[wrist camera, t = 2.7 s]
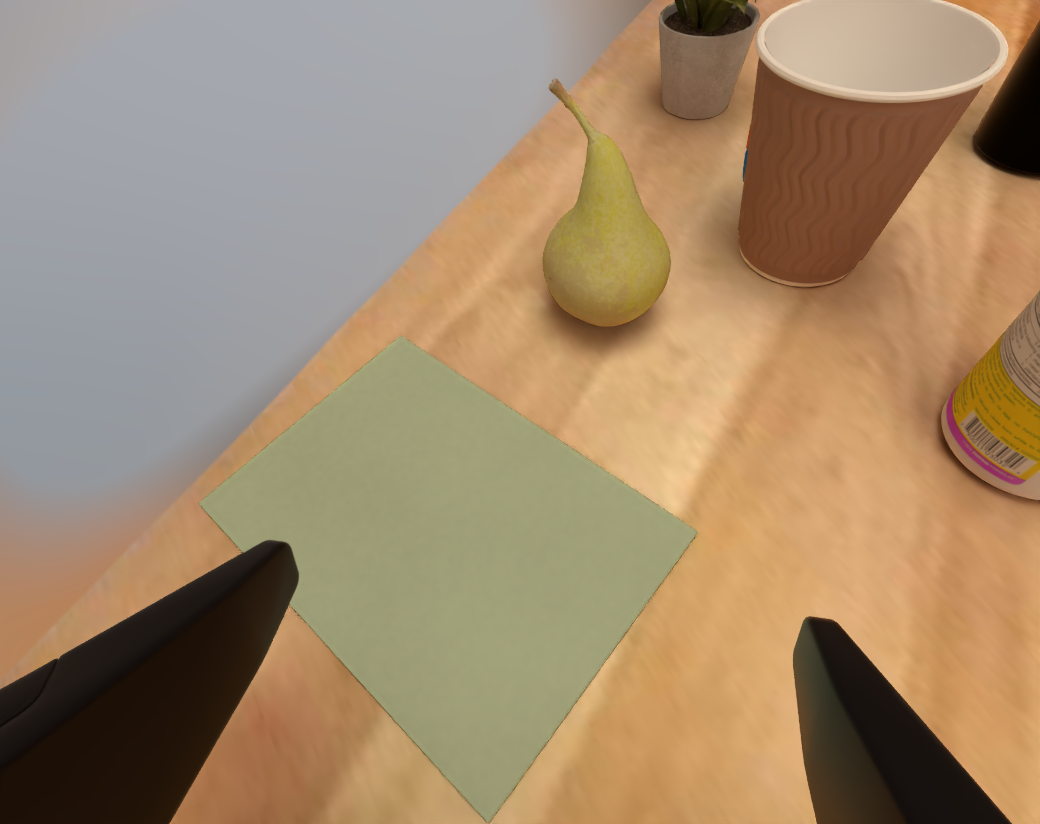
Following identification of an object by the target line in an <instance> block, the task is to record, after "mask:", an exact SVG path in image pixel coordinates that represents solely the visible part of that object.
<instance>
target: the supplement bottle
mask: <svg viewBox="0 0 1040 824" xmlns="http://www.w3.org/2000/svg"><path fill="white" fill-rule="evenodd" d="M941 423H942V429H943V433H944V436H945V439H946V441H947V443H948V445H949V447H950V449H951V450H952V452H953V453H954V455H955V456H956V457H957V458H958V459H959V460H960V462H961V463H962V464H963V465H964V466H965V467H967V468H968V469H969V470H970V471H971V472H972V473H974V474H975V475H976V476H978V477H979V478H981V479H982V480H984V481H985V482H987V483H989V484H991V485H993V486H994V487H997V488H999V489H1001V490H1003V491H1006V492H1008V493H1011V494H1014V495H1017V496H1021V497H1025V498H1029V499H1034V500H1040V291H1039V292H1038V294H1037V295H1036V296H1035V297H1034V298H1033V299H1032V301H1031V302H1030V303H1029V304H1028V305H1027V306H1026V308H1025V309H1024V310H1023V311H1022V312H1021V313H1020V314H1019V316H1018V317H1017V318H1016V319H1015V320H1014V321H1013V323H1012V324H1011V325H1010V326H1009V327H1008V328H1007V330H1006V331H1005V332H1004V333H1003V334H1002V335H1001V337H1000V338H999V339H998V340H997V341H996V342H995V344H994V345H993V346H992V347H991V348H990V349H989V351H988V352H987V353H986V354H985V355H984V356H983V357H982V359H981V360H980V361H979V362H978V363H977V364H976V365H975V367H974V368H973V369H972V370H971V371H970V373H969V374H968V375H967V376H966V377H965V378H964V379H963V381H962V382H961V383H960V384H959V385H958V386H957V388H956V389H955V390H954V391H953V393H952V394H951V395H950V396H949V398H948V399H947V401H946V402H945V405H944V407H943V410H942V415H941Z"/></svg>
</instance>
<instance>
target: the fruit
mask: <svg viewBox="0 0 1040 824" xmlns="http://www.w3.org/2000/svg"><path fill="white" fill-rule="evenodd" d="M549 89H550V91H551V92H552V93H553V94H555V95H556V96H557V97H558V98H559V99H560V100H561V101H562V102H563V103H564V105H565V107H566V108H568V109H570V111H571V112H572V113H573V114H574V116H575V117H576V118H577V120H578V121H579V123H580V125H581V126H582V128H583V130H584V132H585V134H586V136H587V138H588V147H587V157H586V164H585V169H584V175H583V179H582V184H581V188H580V192H579V196H578V200H577V202H576V204H575V206H574V208H572V209H571V210H570V211H568V212H567V213H566V214H565V215H564V216H563V217H562V218H561V219H560V220H559V221H558V223H557V224H556V226H555V227H554V229H553V230H552V232H551V234H550V236H549V238H548V240H547V242H546V246H545V249H544V253H543V271H544V276H545V279H546V282H547V285H548V288H549V290H550V292H551V294H552V296H553V298H554V299H555V301H556V302H557V303H558V305H559V306H560V307H561V308H563V309H564V310H565V311H566V312H568V313H569V314H571V315H572V316H574V317H576V318H578V319H580V320H582V321H585V322H587V323H590V324H593V325H596V326H602V327H609V326H617V325H622V324H625V323H628V322H630V321H632V320H634V319H635V318H637V317H639V316H640V315H642V314H643V313H644V312H646V311H647V310H648V309H649V308H650V307H651V306H652V305H653V304H654V303H655V301H656V300H657V299H658V298H659V296H660V295H661V293H662V292H663V290H664V288H665V286H666V283H667V280H668V277H669V272H670V265H671V260H670V252H669V248H668V245H667V243H666V240H665V238H664V236H663V234H662V232H661V231H660V229H659V228H658V227H657V226H656V224H655V223H654V222H653V221H652V220H651V218H650V217H649V216H648V214H647V213H646V211H645V209H644V208H643V206H642V203H641V200H640V197H639V195H638V192H637V190H636V187H635V184H634V180H633V177H632V175H631V172H630V170H629V167H628V165H627V163H626V161H625V159H624V156H623V154H622V153H621V151H620V149H619V148H618V146H617V145H616V143H615V142H614V141H613V140H612V139H611V138H610V137H608V136H606V135H605V134H603V133H601V132H597V131H596V129H595V128H594V127H593V126H592V125H591V123H590V122H589V120H588V119H587V118H586V116H585V115H584V114H583V112H582V111H581V110H580V108H579V107H578V105H577V104H576V103H575V102H574V101H573V99H572V97H571V96H570V95H569V94H568V93H567V91H566V90H565V89H564V87H563V86H562V84H561V83H560V82H559V81H558V80H557V79H553V80H552V83H551V84H550V85H549Z"/></svg>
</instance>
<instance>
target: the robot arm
mask: <svg viewBox="0 0 1040 824" xmlns="http://www.w3.org/2000/svg"><path fill="white" fill-rule="evenodd" d="M298 582H299V571H298V568H297V565H296V561H295V558H294V555H293V552H292V548H291V546H290V545H289V544H288V543H287V542H283V541H276V540H266V541H263V542H261V543H260V544H258V545H256V546H254V547H252V548H251V549H249V550H247V551H245V552H244V553H242V554H240V555H238V556H237V557H235V558H233V559H231V560H229V561H228V562H226V563H224V564H222V565H221V566H219V567H217V568H215V569H214V570H212V571H210V572H208V573H206V574H205V575H203V576H201V577H199V578H198V579H196V580H194V581H192V582H191V583H189V584H187V585H185V586H183V587H182V588H180V589H178V590H176V591H175V592H173V593H171V594H169V595H168V596H166V597H164V598H162V599H160V600H159V601H157V602H155V603H153V604H152V605H150V606H148V607H146V608H145V609H143V610H141V611H139V612H137V613H136V614H134V615H132V616H130V617H129V618H127V619H125V620H123V621H122V622H120V623H118V624H116V625H114V626H113V627H111V628H109V629H107V630H106V631H104V632H102V633H100V634H98V635H97V636H95V637H93V638H91V639H90V640H88V641H86V642H84V643H83V644H81V645H79V646H77V647H75V648H74V649H72V650H70V651H68V652H67V653H65V654H63V655H62V656H60V658H59V659H54V660H52V661H50V662H49V663H47V664H45V665H43V666H42V667H40V668H38V669H36V670H35V671H33V672H31V673H29V674H27V675H26V676H24V677H22V678H20V679H18V680H16V681H15V682H13V683H11V684H9V685H7V686H6V687H4V688H2V689H0V824H170V822H171V820H172V818H173V817H174V815H175V813H176V811H177V810H178V808H179V806H180V804H181V803H182V801H183V799H184V798H185V796H186V794H187V792H188V791H189V789H190V787H191V785H192V784H193V782H194V780H195V778H196V777H197V775H198V773H199V772H200V770H201V768H202V766H203V765H204V763H205V761H206V759H207V758H208V756H209V754H210V752H211V751H212V749H213V747H214V746H215V744H216V742H217V740H218V739H219V737H220V735H221V733H222V732H223V730H224V728H225V727H226V725H227V723H228V721H229V720H230V718H231V716H232V714H233V713H234V711H235V709H236V707H237V706H238V704H239V702H240V701H241V699H242V697H243V695H244V694H245V692H246V690H247V688H248V687H249V685H250V683H251V681H252V680H253V678H254V676H255V675H256V673H257V671H258V669H259V667H260V665H261V664H262V662H263V660H264V658H265V656H266V654H267V652H268V650H269V647H270V645H271V643H272V641H273V639H274V636H275V634H276V632H277V630H278V628H279V625H280V623H281V621H282V619H283V617H284V614H285V612H286V610H287V608H288V606H289V603H290V601H291V599H292V597H293V595H294V592H295V590H296V588H297V585H298ZM793 669H794V678H795V687H796V696H797V705H798V715H799V724H800V733H801V742H802V751H803V758H804V765H805V770H806V776H807V781H808V785H809V790H810V794H811V799H812V803H813V808H814V812H815V817H816V821H817V824H1012V823H1011V822H1010V821H1009V820H1008V819H1007V817H1006V816H1005V815H1004V814H1003V813H1002V812H1001V810H1000V809H999V808H998V807H997V806H996V805H995V804H994V802H993V801H992V800H991V799H990V798H989V797H988V796H987V794H986V793H985V792H984V791H983V790H982V789H981V787H980V786H979V785H978V784H977V783H976V782H975V781H974V779H973V778H972V777H971V776H970V775H969V774H968V772H967V771H966V770H965V769H964V768H963V767H962V766H961V764H960V763H959V762H958V761H957V760H956V759H955V758H954V756H953V755H952V754H951V753H950V752H949V751H948V749H947V748H946V747H945V746H944V745H943V744H942V743H941V741H940V740H939V739H938V738H937V737H936V736H935V734H934V733H933V732H932V731H931V730H930V729H929V728H928V726H927V725H926V724H925V723H924V722H923V721H922V720H921V718H920V717H919V716H918V715H917V714H916V713H915V711H914V710H913V709H912V708H911V707H910V706H909V705H908V703H907V702H906V701H905V700H904V699H903V698H902V696H901V695H900V694H899V693H898V692H897V691H896V690H895V688H894V687H893V686H892V685H891V684H890V683H889V682H888V680H887V679H886V678H885V677H884V676H883V675H882V673H881V672H880V671H879V670H878V669H877V668H876V667H875V665H874V664H873V663H872V662H871V661H870V660H869V658H868V657H867V656H866V655H865V654H864V653H863V652H862V650H861V649H860V648H859V647H858V646H857V645H856V644H855V642H854V641H853V640H852V639H851V638H850V637H849V635H848V634H847V633H846V632H845V631H844V630H843V629H842V627H841V626H840V625H839V624H838V623H837V622H835V621H834V620H831V619H825V618H818V617H811V616H810V617H806V618H805V620H804V621H803V624H802V627H801V630H800V633H799V636H798V639H797V642H796V645H795V648H794V652H793Z"/></svg>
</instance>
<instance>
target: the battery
mask: <svg viewBox="0 0 1040 824" xmlns="http://www.w3.org/2000/svg"><path fill="white" fill-rule="evenodd" d="M974 138H975V143H976V145H977V147H978V148H979V149H980V151H981V152H982V153H983V154H984V155H986V156H987V157H988V158H990V159H991V160H993V161H995V162H997V163H999V164H1001V165H1003V166H1006V167H1008V168H1011V169H1014V170H1018V171H1022V172H1026V173H1031V174H1039V175H1040V20H1039V22H1038V24H1037V25H1036V27H1035V29H1034V31H1033V32H1032V34H1031V36H1030V38H1029V39H1028V41H1027V43H1026V44H1025V46H1024V48H1023V50H1022V51H1021V53H1020V55H1019V57H1018V58H1017V60H1016V62H1015V64H1014V65H1013V67H1012V69H1011V70H1010V72H1009V74H1008V76H1007V77H1006V79H1005V81H1004V83H1003V84H1002V86H1001V88H1000V90H999V91H998V93H997V95H996V96H995V98H994V100H993V102H992V103H991V105H990V107H989V109H988V110H987V112H986V114H985V116H984V117H983V119H982V121H981V123H980V124H979V126H978V128H977V130H976V132H975V136H974Z"/></svg>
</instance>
